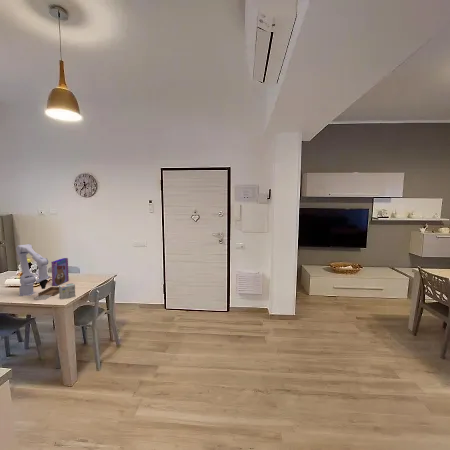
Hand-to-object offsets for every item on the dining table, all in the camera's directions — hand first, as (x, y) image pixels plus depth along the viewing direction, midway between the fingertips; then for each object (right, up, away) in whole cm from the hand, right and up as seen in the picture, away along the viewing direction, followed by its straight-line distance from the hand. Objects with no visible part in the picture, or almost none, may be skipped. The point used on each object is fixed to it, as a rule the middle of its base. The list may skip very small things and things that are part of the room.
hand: (43, 288), depth 221 cm
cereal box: (-11, -5, +40) cm, 42 cm away
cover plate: (0, -9, -1) cm, 9 cm away
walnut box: (0, -7, +12) cm, 14 cm away
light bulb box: (+18, -8, +3) cm, 20 cm away
